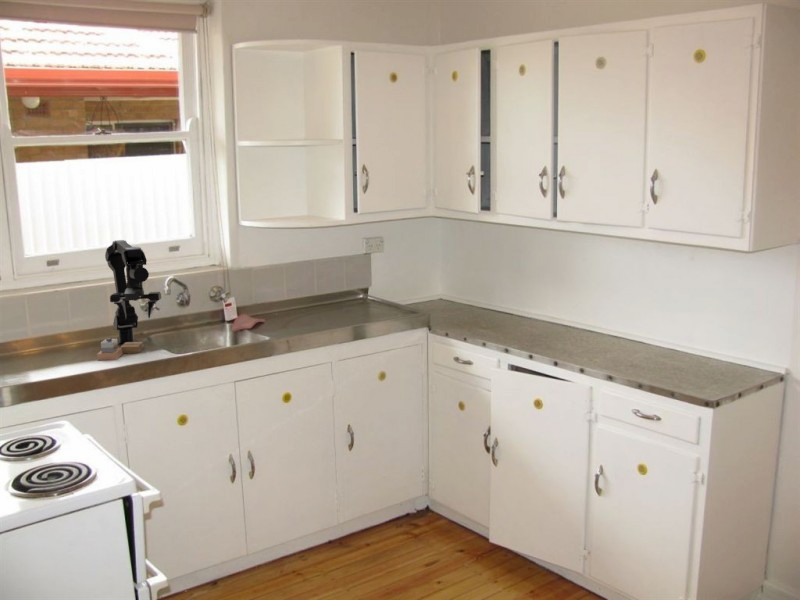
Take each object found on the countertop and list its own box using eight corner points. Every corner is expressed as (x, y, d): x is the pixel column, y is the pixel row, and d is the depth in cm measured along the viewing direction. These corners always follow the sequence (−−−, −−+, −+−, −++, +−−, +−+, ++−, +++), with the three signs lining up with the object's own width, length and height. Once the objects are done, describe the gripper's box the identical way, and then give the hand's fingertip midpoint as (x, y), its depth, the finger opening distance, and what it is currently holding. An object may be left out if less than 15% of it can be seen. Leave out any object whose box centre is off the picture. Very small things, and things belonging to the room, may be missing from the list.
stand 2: (126, 348, 340) (125, 342, 339) (143, 347, 340) (143, 341, 340) (120, 353, 331) (120, 347, 330) (138, 352, 331) (138, 346, 331)
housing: (106, 348, 328) (105, 336, 327) (118, 348, 328) (117, 336, 327) (101, 353, 321) (100, 340, 320) (113, 352, 321) (112, 340, 320)
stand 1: (104, 354, 329) (103, 348, 328) (122, 354, 329) (121, 347, 329) (97, 360, 320) (97, 353, 320) (116, 359, 321) (116, 352, 320)
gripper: (104, 283, 322) (108, 323, 324) (154, 281, 323) (157, 321, 326) (112, 279, 333) (115, 317, 335) (160, 277, 334) (162, 316, 337)
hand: (137, 318), depth 333 cm, fingers open, 9 cm apart
